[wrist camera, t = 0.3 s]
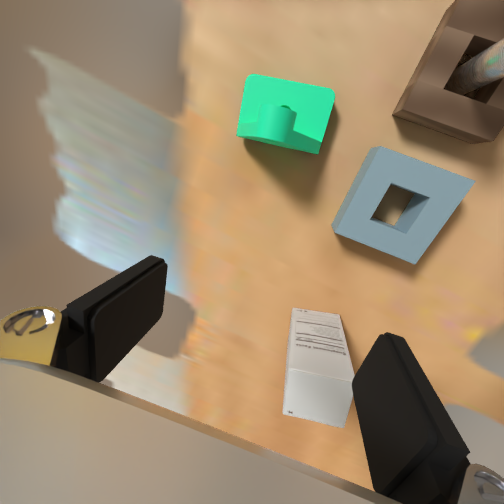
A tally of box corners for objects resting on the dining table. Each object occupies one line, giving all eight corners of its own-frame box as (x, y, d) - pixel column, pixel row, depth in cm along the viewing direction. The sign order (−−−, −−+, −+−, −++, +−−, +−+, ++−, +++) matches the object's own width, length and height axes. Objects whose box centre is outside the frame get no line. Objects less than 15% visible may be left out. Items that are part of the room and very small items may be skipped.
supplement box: (332, 351, 46) (345, 431, 32) (287, 343, 47) (280, 415, 34) (341, 313, 43) (359, 384, 29) (292, 305, 44) (287, 369, 30)
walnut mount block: (446, 10, 27) (466, -12, 23) (542, 41, 26) (576, 23, 23) (392, 114, 31) (402, 109, 28) (472, 143, 30) (492, 141, 27)
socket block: (370, 148, 33) (380, 146, 29) (453, 178, 32) (475, 181, 28) (331, 225, 37) (334, 232, 33) (402, 253, 37) (415, 264, 33)
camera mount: (334, 95, 32) (348, 65, 22) (317, 154, 35) (322, 150, 25) (251, 79, 33) (230, 44, 24) (240, 137, 36) (218, 127, 26)
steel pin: (456, 61, 28) (543, 3, 18) (482, 70, 28) (585, 16, 18) (439, 91, 29) (511, 52, 19) (464, 100, 29) (550, 65, 19)
